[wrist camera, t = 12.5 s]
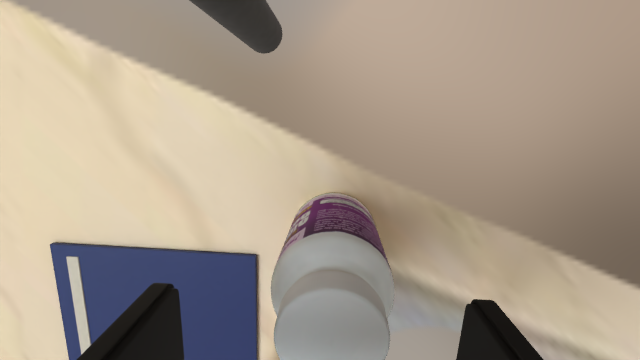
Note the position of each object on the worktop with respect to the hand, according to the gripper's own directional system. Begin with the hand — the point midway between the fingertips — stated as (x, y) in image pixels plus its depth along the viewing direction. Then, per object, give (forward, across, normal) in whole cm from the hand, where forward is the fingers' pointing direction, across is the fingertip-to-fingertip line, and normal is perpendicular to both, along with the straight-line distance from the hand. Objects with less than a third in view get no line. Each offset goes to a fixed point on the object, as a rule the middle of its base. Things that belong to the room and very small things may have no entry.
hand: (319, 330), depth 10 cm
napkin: (+10, +11, +10) cm, 18 cm away
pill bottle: (+10, -1, +1) cm, 10 cm away
